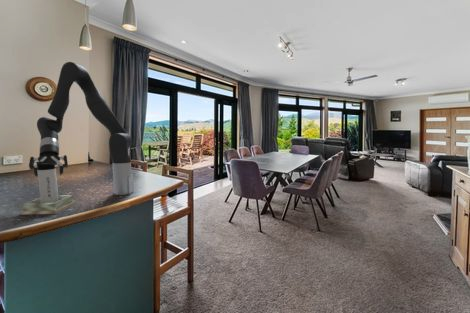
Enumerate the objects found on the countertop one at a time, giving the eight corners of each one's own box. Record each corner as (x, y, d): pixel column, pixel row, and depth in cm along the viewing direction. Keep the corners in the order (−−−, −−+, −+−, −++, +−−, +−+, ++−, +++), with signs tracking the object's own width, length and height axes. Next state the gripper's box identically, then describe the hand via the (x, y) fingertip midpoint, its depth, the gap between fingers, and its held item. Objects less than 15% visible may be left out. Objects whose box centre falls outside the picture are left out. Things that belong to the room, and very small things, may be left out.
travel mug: (46, 203, 105) (42, 160, 102) (62, 203, 105) (58, 160, 103) (36, 208, 98) (31, 162, 96) (52, 207, 99) (48, 162, 97)
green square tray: (76, 203, 109) (75, 194, 109) (55, 213, 95) (54, 204, 95) (45, 203, 108) (45, 195, 108) (20, 214, 94) (19, 204, 94)
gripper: (29, 143, 107) (27, 171, 99) (66, 143, 115) (67, 168, 107) (32, 154, 112) (30, 181, 104) (67, 152, 120) (68, 177, 112)
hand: (49, 174), depth 106 cm, fingers open, 8 cm apart
